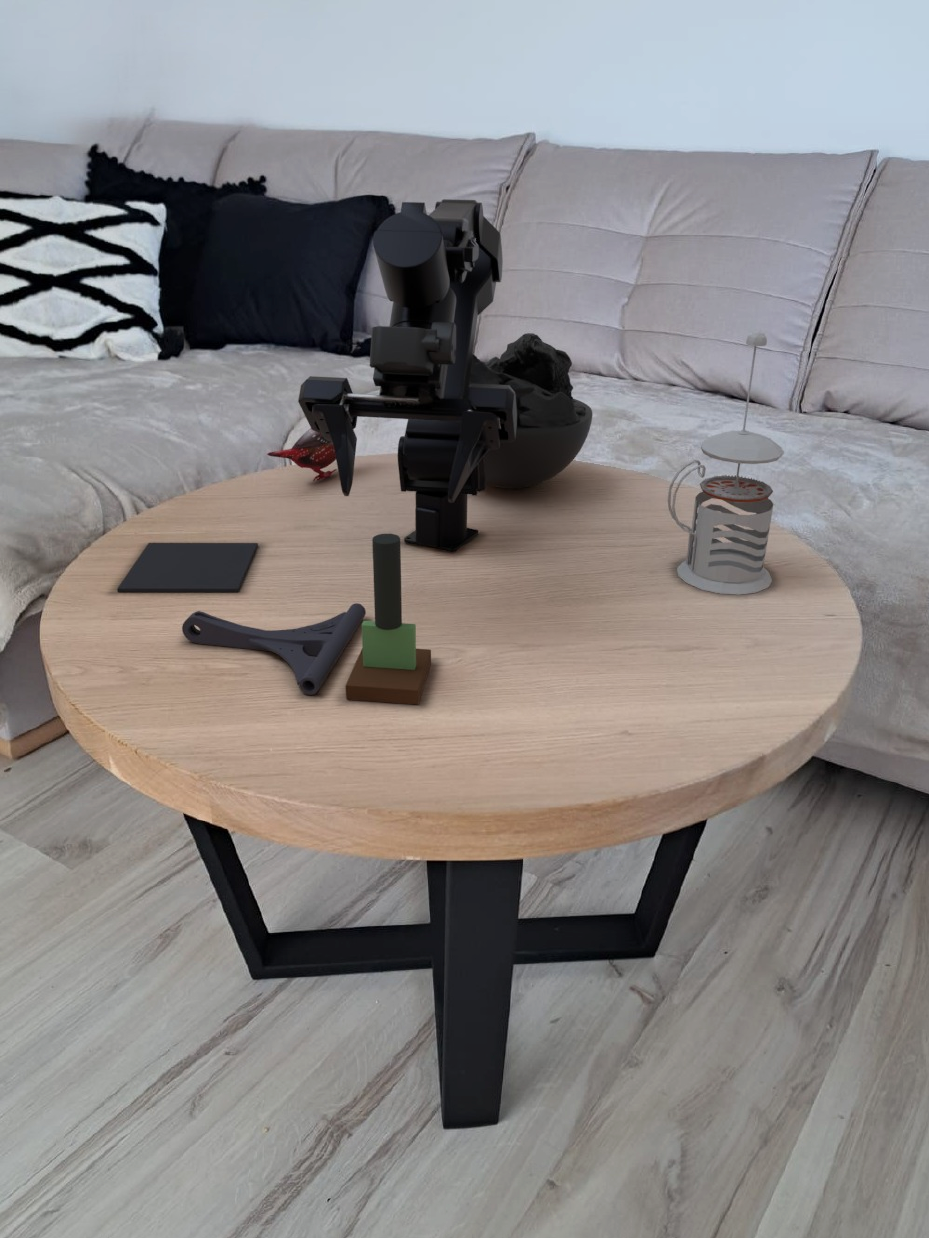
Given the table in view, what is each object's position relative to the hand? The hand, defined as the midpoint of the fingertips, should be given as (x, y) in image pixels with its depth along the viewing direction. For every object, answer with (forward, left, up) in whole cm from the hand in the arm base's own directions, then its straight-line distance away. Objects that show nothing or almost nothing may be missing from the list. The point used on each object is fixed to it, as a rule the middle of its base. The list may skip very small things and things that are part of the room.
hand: (397, 497), depth 85 cm
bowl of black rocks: (-44, -9, -14) cm, 47 cm away
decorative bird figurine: (-32, -32, -14) cm, 47 cm away
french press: (-28, +22, -14) cm, 38 cm away
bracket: (+7, -10, -14) cm, 18 cm away
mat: (-3, -27, -14) cm, 31 cm away
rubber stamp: (+7, +3, -14) cm, 16 cm away
